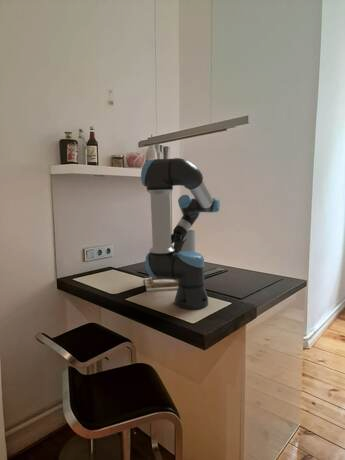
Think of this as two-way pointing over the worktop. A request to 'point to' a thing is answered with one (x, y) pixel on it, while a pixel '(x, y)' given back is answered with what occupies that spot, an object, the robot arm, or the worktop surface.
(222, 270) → the worktop surface
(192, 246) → the cylinder vase
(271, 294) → the worktop surface
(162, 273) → the robot arm
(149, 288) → the docking board
